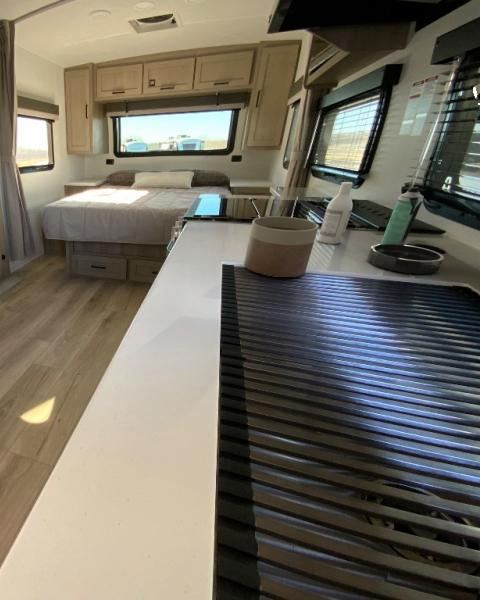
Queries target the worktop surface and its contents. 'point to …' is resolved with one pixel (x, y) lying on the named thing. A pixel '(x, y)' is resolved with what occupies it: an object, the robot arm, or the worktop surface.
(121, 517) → the worktop surface
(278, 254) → the planter
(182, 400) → the worktop surface
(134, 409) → the worktop surface
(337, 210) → the bath foam
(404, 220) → the spray can
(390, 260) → the pan
